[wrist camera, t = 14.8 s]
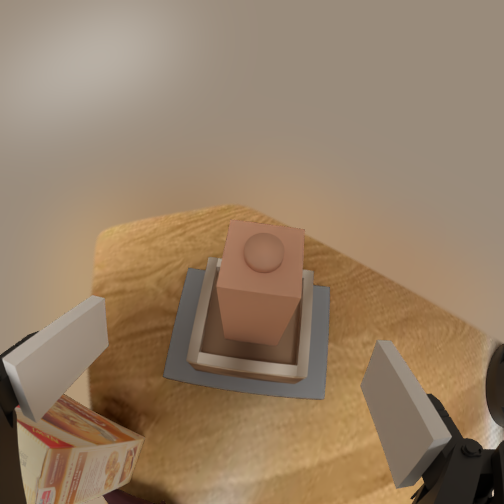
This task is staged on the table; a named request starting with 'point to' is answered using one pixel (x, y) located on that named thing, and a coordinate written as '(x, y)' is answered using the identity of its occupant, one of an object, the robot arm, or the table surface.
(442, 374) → the table surface
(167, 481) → the table surface
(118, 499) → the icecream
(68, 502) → the coffeecake box
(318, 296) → the base board
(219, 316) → the brown square box
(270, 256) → the block
